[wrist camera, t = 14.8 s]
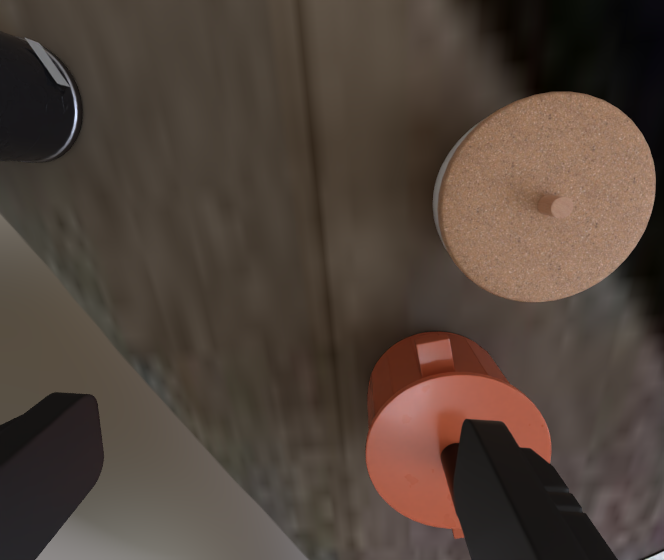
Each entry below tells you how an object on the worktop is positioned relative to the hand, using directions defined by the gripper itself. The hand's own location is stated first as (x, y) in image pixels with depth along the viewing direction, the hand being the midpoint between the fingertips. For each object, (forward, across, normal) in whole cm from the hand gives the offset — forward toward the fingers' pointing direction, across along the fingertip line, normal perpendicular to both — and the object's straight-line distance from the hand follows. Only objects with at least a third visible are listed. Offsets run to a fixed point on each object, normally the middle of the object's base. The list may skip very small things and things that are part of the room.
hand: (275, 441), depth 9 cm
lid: (+18, -10, +14) cm, 26 cm away
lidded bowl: (+27, -14, -4) cm, 30 cm away
